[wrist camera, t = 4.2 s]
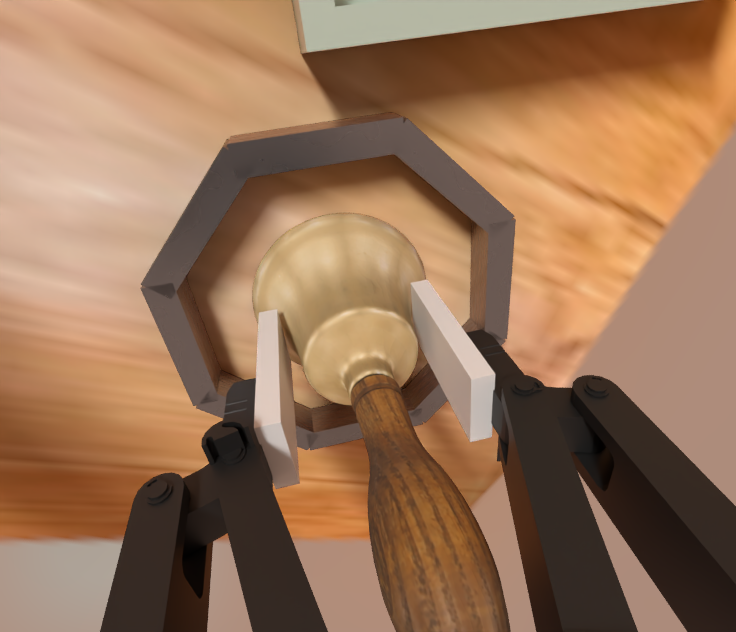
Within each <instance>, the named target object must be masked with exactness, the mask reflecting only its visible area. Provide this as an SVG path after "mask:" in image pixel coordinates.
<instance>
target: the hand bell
mask: <svg viewBox="0 0 736 632" xmlns="http://www.w3.org/2000/svg"><path fill="white" fill-rule="evenodd" d="M422 280H426V277H425V272H424V267H423V264H422V261H421V259H420V257H419V255H418V253H417V251H416V249H415V248H414V246H413V245H412V244H411V243H410V241H409V240H408V239H407V238H406V237H405V236H404V235H403V234H402V233H401V232H400V231H398V230H397V229H396V228H394V227H393V226H391V225H390V224H388V223H386V222H384V221H382V220H379V219H377V218H374V217H370V216H367V215H362V214H355V213H336V214H328V215H323V216H320V217H316V218H312V219H310V220H307V221H305V222H303V223H301V224H299V225H297V226H295V227H294V228H292V229H290V230H289V231H288V232H286V233H285V234H284V235H282V236H281V237H280V238H279V239H278V240H277V241H276V242H275V244H274V245H273V246H272V247H271V248H270V249H269V250H268V252H267V253H266V255H265V256H264V258H263V259H262V261H261V263H260V265H259V267H258V270H257V273H256V276H255V279H254V283H253V291H252V301H253V308H254V313H255V318H256V320H257V323H258V321H259V312H264V311H269V310H274V309H277V310H278V314H279V317H280V321H281V325H282V329H283V333H284V336H285V340H286V344H287V348H288V351H289V355H290V359H291V360H292V361H294V362H295V363H297V364H300V365H302V366H303V369H304V373H305V375H306V378H307V380H308V382H309V383H310V385H311V386H312V387H313V388H314V389H315V391H316V392H318V393H319V394H320V395H321V396H323V397H324V398H326V399H328V400H330V401H332V402H335V403H338V404H343V405H352V407H353V410H354V411H355V413H356V418H357V420H358V423H359V426H360V429H361V432H362V435H363V438H364V441H365V444H366V447H367V451H368V455H369V461H370V479H369V490H368V519H369V532H370V540H371V546H372V552H373V558H374V563H375V567H376V571H377V576H378V580H379V584H380V588H381V592H382V596H383V599H384V602H385V605H386V608H387V610H388V613H389V616H390V618H391V621H392V623H393V625H394V627H395V630H396V632H510V624H509V619H508V613H507V608H506V604H505V599H504V595H503V590H502V586H501V581H500V577H499V574H498V570H497V567H496V565H495V562H494V559H493V556H492V554H491V551H490V549H489V546H488V544H487V542H486V539H485V537H484V535H483V533H482V531H481V529H480V527H479V524H478V522H477V520H476V519H475V517H474V515H473V513H472V511H471V510H470V508H469V506H468V504H467V503H466V501H465V499H464V498H463V496H462V495H461V493H460V491H459V490H458V488H457V487H456V485H455V484H454V483H453V481H452V480H451V479H450V477H449V476H448V475H447V473H446V472H445V471H444V470H443V468H442V467H441V466H440V465H439V464H438V463H437V462H436V461H435V460H434V459H433V458H432V457H431V456H430V455H429V453H428V452H427V451H426V450H425V448H424V447H423V446H422V444H421V442H420V441H419V439H418V437H417V435H416V433H415V430H414V428H413V425H412V422H411V419H410V416H409V413H408V410H407V407H406V404H405V401H404V399H403V397H402V393H401V389H400V388H401V387H402V386H403V385H404V383H405V382H406V381H407V380H408V378H409V377H410V375H411V374H412V372H413V370H414V368H415V365H416V362H417V357H418V341H417V337H416V334H415V331H414V328H413V314H412V299H411V285H410V283H412V282H417V281H422Z"/></svg>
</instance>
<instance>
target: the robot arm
mask: <svg viewBox="0 0 736 632" xmlns="http://www.w3.org/2000/svg"><path fill="white" fill-rule="evenodd" d="M410 285H411V299H412V314H413V328H414V331H415V334H416V337H417V341H418V344H419V346H420V348H421V350H422V351H423V353H424V355H425V357H426V359H427V361H428V363H429V365H430V367H431V369H432V371H433V372H434V374H435V376H436V378H437V380H438V382H439V384H440V386H441V388H442V390H443V391H444V393H445V395H446V397H447V399H448V401H449V403H450V405H451V407H452V409H453V411H454V412H455V414H456V416H457V418H458V420H459V422H460V424H461V426H462V428H463V430H464V432H465V433H466V435H467V437H468V439H469V441H470V442H473V441H478V440H482V439H486V438H490V437H492V425H493V427H494V428H495V430H496V431H497V433H498V435H499V439H498V453H497V461H501V462H502V467H503V472H504V477H505V482H506V486H507V491H508V496H509V501H510V506H511V511H512V515H513V520H514V525H515V529H516V535H517V540H518V544H519V549H520V554H521V559H522V564H523V569H524V574H525V579H526V583H527V588H528V593H529V598H530V603H531V608H532V612H533V617H534V622H535V627H536V631H537V632H638V631H637V628H636V625H635V623H634V620H633V618H632V615H631V612H630V609H629V607H628V604H627V601H626V599H625V596H624V593H623V591H622V588H621V586H620V583H619V580H618V578H617V575H616V572H615V570H614V567H613V564H612V562H611V559H610V557H609V554H608V551H607V549H606V546H605V543H604V541H603V538H602V535H601V533H600V530H599V527H598V525H597V522H596V519H595V517H594V514H593V511H592V509H591V507H590V504H589V501H588V498H587V496H586V493H585V490H584V488H583V485H582V483H581V480H580V477H579V474H580V475H581V477H582V478H583V479H584V481H585V482H586V484H587V486H588V487H589V488H590V490H591V491H592V493H593V494H594V496H595V497H596V499H597V500H598V501H599V503H600V505H601V506H602V507H603V509H604V510H605V512H606V513H607V515H608V516H609V518H610V519H611V521H612V522H613V524H614V525H615V526H616V528H617V529H618V531H619V532H620V534H621V535H622V537H623V538H624V539H625V541H626V542H627V544H628V545H629V547H630V548H631V550H632V551H633V553H634V554H635V556H636V557H637V558H638V560H639V562H640V563H641V564H642V566H643V567H644V569H645V570H646V572H647V573H648V575H649V576H650V578H651V579H652V580H653V582H654V583H655V585H656V586H657V588H658V589H659V591H660V592H661V594H662V595H663V597H664V598H665V599H666V601H667V602H668V604H669V605H670V607H671V608H672V610H673V611H674V613H675V614H676V616H677V617H678V618H679V620H680V621H681V623H682V624H683V626H684V627H685V629H686V630H687V632H736V506H735V505H734V504H733V503H732V502H731V501H730V500H729V499H728V498H727V497H726V496H725V495H724V494H723V493H722V492H721V491H720V490H719V489H718V488H717V487H716V486H715V485H714V484H713V483H712V482H711V481H710V480H709V479H708V478H707V477H706V476H705V475H704V474H703V473H702V472H701V471H700V470H699V468H698V467H696V465H695V464H694V463H693V462H692V461H691V460H690V459H689V458H688V457H687V456H686V455H685V454H684V453H683V452H682V451H681V450H680V449H679V448H678V447H677V446H676V445H675V444H674V443H673V442H672V441H671V440H670V439H669V438H668V437H667V436H666V435H665V434H664V433H663V432H662V431H661V430H660V429H659V428H658V427H657V426H656V425H655V424H654V423H653V422H652V421H651V420H650V419H649V418H648V417H647V416H646V415H645V414H644V413H643V412H642V411H641V410H640V409H639V407H637V405H635V404H634V402H633V401H631V399H630V398H629V397H628V396H627V395H626V394H625V393H624V392H623V391H622V390H621V389H620V388H619V387H618V386H617V385H616V384H614V383H613V382H612V381H610V380H608V379H605V378H603V377H600V376H594V375H587V376H582V377H579V378H577V379H576V380H575V381H574V382H573V386H572V388H554V387H546V386H544V385H543V383H542V382H540V381H539V380H538V379H536V378H534V377H531V376H528V375H524V374H523V373H522V371H521V370H520V369H519V368H518V366H517V365H516V364H515V363H514V361H513V360H512V359H511V358H510V357H509V355H508V354H507V353H506V352H505V350H504V349H503V348H502V347H501V345H499V343H498V342H497V340H496V339H495V338H494V337H493V336H492V335H491V334H489V333H487V332H485V331H484V330H482V329H480V330H476V331H471V332H465V331H464V330H463V328H462V327H461V326H460V324H459V323H458V321H457V320H456V319H455V317H454V316H453V314H452V313H451V312H450V310H449V309H448V307H447V306H446V305H445V303H444V302H443V301H442V299H441V298H440V296H439V295H438V294H437V292H436V291H435V289H434V288H433V287H432V285H431V284H430V282H429V281H428V280H422V281H417V282H412V283H410ZM225 405H226V406H225V411H224V414H225V415H224V419H223V421H221V422H219V423H217V424H215V425H213V426H212V427H211V428H210V429H209V430H208V431H207V432H206V433H205V435H204V437H203V438H202V448H203V450H204V452H205V454H206V457H207V459H208V461H209V464H208V465H206V466H205V467H204V468H202V469H200V470H199V471H197V472H195V473H193V474H191V475H189V476H187V477H185V478H183V479H182V477H181V476H180V475H179V474H175V473H164V474H161V475H158V476H156V477H153V478H152V479H151V480H149V481H148V482H146V483H145V484H144V485H143V486H142V487H141V488H140V490H139V491H138V492H137V494H136V496H135V498H134V501H133V505H132V509H131V513H130V517H129V521H128V525H127V529H126V532H125V536H124V540H123V544H122V548H121V552H120V556H119V560H118V564H117V568H116V572H115V575H114V579H113V583H112V587H111V591H110V595H109V599H108V603H107V607H106V611H105V615H104V618H103V622H102V626H101V630H100V632H207V622H208V608H209V593H210V578H211V562H212V547H213V541H214V540H216V539H218V538H220V537H222V536H223V535H225V534H227V533H228V536H229V540H230V544H231V548H232V552H233V556H234V560H235V563H236V567H237V571H238V575H239V579H240V583H241V587H242V591H243V595H244V599H245V603H246V607H247V611H248V615H249V619H250V622H251V627H252V631H253V632H328V631H327V628H326V626H325V623H324V621H323V618H322V615H321V613H320V610H319V608H318V605H317V603H316V600H315V597H314V595H313V592H312V590H311V587H310V585H309V582H308V580H307V577H306V574H305V572H304V569H303V567H302V564H301V562H300V559H299V556H298V554H297V551H296V549H295V546H294V543H293V541H292V538H291V536H290V533H289V531H288V528H287V526H286V523H285V520H284V518H283V515H282V513H281V510H280V508H279V505H278V502H277V500H276V497H275V495H274V492H273V483H274V486H275V488H276V489H278V488H282V487H287V486H291V485H295V484H299V483H300V482H299V467H298V453H297V439H296V425H295V411H294V397H293V382H292V368H291V359H290V355H289V351H288V348H287V344H286V340H285V336H284V333H283V329H282V325H281V321H280V317H279V314H278V310H277V309H274V310H269V311H264V312H259V321H258V343H257V366H256V378H254V379H249V380H244V381H239V382H235V383H233V385H232V386H231V388H230V389H229V391H228V392H227V395H226V403H225ZM577 471H578V472H579V474H578V472H577Z"/></svg>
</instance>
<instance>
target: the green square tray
mask: <svg viewBox="0 0 736 632" xmlns="http://www.w3.org/2000/svg"><path fill="white" fill-rule="evenodd" d="M694 1H702V0H292V4H293V10H294V16H295V22H296V28H297V34H298V40H299V46H300V52H301V54H303V53H311V52H318V51H326V50H333V49H341V48H348V47H356V46H363V45H371V44H378V43H386V42H394V41H401V40H409V39H416V38H424V37H431V36H439V35H446V34H454V33H461V32H469V31H476V30H484V29H491V28H499V27H506V26H514V25H521V24H529V23H536V22H544V21H551V20H559V19H566V18H574V17H581V16H589V15H597V14H604V13H612V12H619V11H627V10H634V9H642V8H649V7H657V6H664V5H672V4H679V3H687V2H694Z"/></svg>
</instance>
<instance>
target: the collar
mask: <svg viewBox="0 0 736 632" xmlns="http://www.w3.org/2000/svg"><path fill="white" fill-rule="evenodd" d="M392 154H394V155H395V156H396V157H397V158H399V159H400V160H401V161H402V162H403V163H405V164H406V165H407V166H408V167H409V168H410V169H412V170H413V171H414V172H415V173H416V174H418V175H419V176H420V177H421V178H422V179H424V180H425V181H426V182H427V183H428V184H429V185H431V186H432V187H433V188H434V189H435V190H437V191H438V192H439V193H440V194H441V195H442V196H444V197H445V198H446V199H447V200H448V201H450V202H451V203H452V204H453V205H454V206H456V207H457V208H458V209H459V210H460V211H461V212H463V213H464V214H465V215H466V216H467V217H469V218H470V219H471V220H472V231H471V292H470V319H469V320H468V321H467V322H466V323H465V324H464V325H463V326H462V328H463V330H464V331H465V332H471V331H476V330H480V329H482V330H484V331H485V332H487V333H489V334H491V335H492V336H493V337H494V338H495V339H496V340H497V342H498V343H499V345H502V344H503V343H504V342H505V340H504V339H507V331H508V317H509V304H510V290H511V276H512V262H513V249H514V235H515V221H516V219H514V218H513V217H514V215H513V214H512V213H511V212H509V211H508V210H507V209H506V208H505V207H504V206H503V205H502V204H501V203H500V202H499V201H497V200H496V199H495V198H494V197H493V196H492V195H491V194H490V193H489V192H488V191H486V190H485V189H484V188H483V187H482V186H481V185H480V184H479V183H478V182H477V181H476V180H474V179H473V178H472V177H471V176H470V175H469V174H468V173H467V172H466V171H465V170H463V169H462V168H461V167H460V166H459V165H458V164H457V163H456V162H455V161H454V160H452V159H451V158H450V157H449V156H448V155H447V154H446V153H445V152H444V151H443V150H442V149H440V148H439V147H438V146H437V145H436V144H435V143H434V142H433V141H432V140H431V139H429V138H428V137H427V136H426V135H425V134H424V133H423V132H422V131H421V130H420V129H418V128H417V127H416V126H415V125H414V124H413V123H412V122H411V121H410V120H409V119H408V118H405V117H403V116H400V115H398V114H396V113H392V112H388V113H381V114H375V115H368V116H362V117H355V118H348V119H342V120H335V121H328V122H322V123H315V124H309V125H302V126H295V127H289V128H282V129H275V130H269V131H262V132H256V133H249V134H242V135H236V136H231V137H230V139H227V140H226V142H225V143H224V145H223V147H222V148H221V150H220V152H219V153H218V155H217V157H216V159H215V160H214V162H213V164H212V165H211V167H210V169H209V170H208V172H207V174H206V175H205V177H204V179H203V180H202V182H201V184H200V185H199V187H198V189H197V190H196V192H195V194H194V195H193V197H192V199H191V201H190V202H189V204H188V206H187V207H186V209H185V211H184V212H183V214H182V216H181V217H180V219H179V221H178V222H177V224H176V226H175V227H174V229H173V231H172V232H171V234H170V236H169V237H168V239H167V241H166V243H165V244H164V246H163V248H162V249H161V251H160V253H159V254H158V256H157V258H156V259H155V261H154V263H153V264H152V266H151V268H150V269H149V271H148V273H147V275H146V276H145V278H144V280H143V282H142V283H141V285H142V287H141V291H142V293H143V295H144V297H145V299H146V302H147V304H148V306H149V308H150V311H151V313H152V315H153V317H154V319H155V322H156V324H157V326H158V328H159V331H160V333H161V335H162V337H163V339H164V342H165V344H166V346H167V348H168V351H169V353H170V355H171V357H172V359H173V362H174V364H175V366H176V368H177V371H178V373H179V375H180V377H181V379H182V382H183V384H184V386H185V388H186V391H187V393H188V395H189V397H190V399H191V402H192V404H193V406H196V405H197V406H196V408H197V409H200V410H202V411H205V412H207V413H210V414H213V415H215V416H218V417H221V418H223V419H224V415H225V414H224V411H225V406H226V405H225V403H226V395H227V392H228V391H229V389H230V388H231V386H232V385H233V383H235V382H239V381H244V380H243V379H241V378H238V377H236V376H234V375H231V374H229V373H227V372H224V371H222V370H221V369H220V366H219V364H218V361H217V358H216V356H215V353H214V350H213V348H212V345H211V343H210V340H209V337H208V335H207V332H206V329H205V327H204V324H203V321H202V319H201V316H200V314H199V311H198V308H197V306H196V303H195V300H194V298H193V295H192V293H191V290H190V287H189V285H188V282H187V279H186V275H187V274H188V272H189V271H190V269H191V267H192V266H193V264H194V263H195V261H196V260H197V258H198V256H199V255H200V253H201V252H202V250H203V248H204V247H205V245H206V244H207V242H208V241H209V239H210V237H211V236H212V234H213V233H214V231H215V229H216V228H217V226H218V225H219V223H220V222H221V220H222V218H223V217H224V215H225V214H226V212H227V211H228V209H229V207H230V206H231V204H232V203H233V201H234V199H235V198H236V196H237V195H238V193H239V192H240V190H241V188H242V187H243V185H244V184H245V182H246V180H247V179H248V178H250V177H257V176H263V175H269V174H275V173H281V172H287V171H294V170H300V169H306V168H312V167H318V166H325V165H331V164H337V163H343V162H349V161H355V160H362V159H368V158H374V157H380V156H386V155H392ZM401 393H402V397H403V399H404V401H405V404H406V407H407V410H408V413H409V416H410V419H411V422H412V425H413V426H417V425H421V424H423V422H425V423H426V422H427V421H428V420H429V419H430V417H431V416H432V415H433V414H434V413H435V412H436V411H437V410H438V409H439V408H440V407H441V406H442V405H443V404H444V403H445V402H446V401H447V400H448V399H447V397H446V395H445V393H444V391H443V390H442V388H441V386H440V384H439V382H438V380H437V378H436V376H435V374H434V372H433V371H432V369H431V367H430V365H429V363H428V364H427V365H426V366H425V367H424V368H423V369H422V370H421V372H420V373H419V374H418V375H417V376H416V377H415V378H414V379H413V380H412V381H411V382H410V383H409V384H408V386H407V387H406V388H403V389H401ZM294 411H295V425H296V439H297V447H300V448H303V449H305V450H308V449H309V448H310V450H314V449H318V448H323V447H327V446H331V445H336V444H340V443H344V442H348V441H353V440H357V439H361V438H363V435H362V432H361V429H360V426H359V423H358V420H357V418H356V413H355V411H354V410H353V407H352V405H343V404H338V403H335V404H331V405H326V406H322V407H317V408H313V409H310V408H308V407H305V406H303V405H301V404H299V403H296V402H294Z"/></svg>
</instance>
